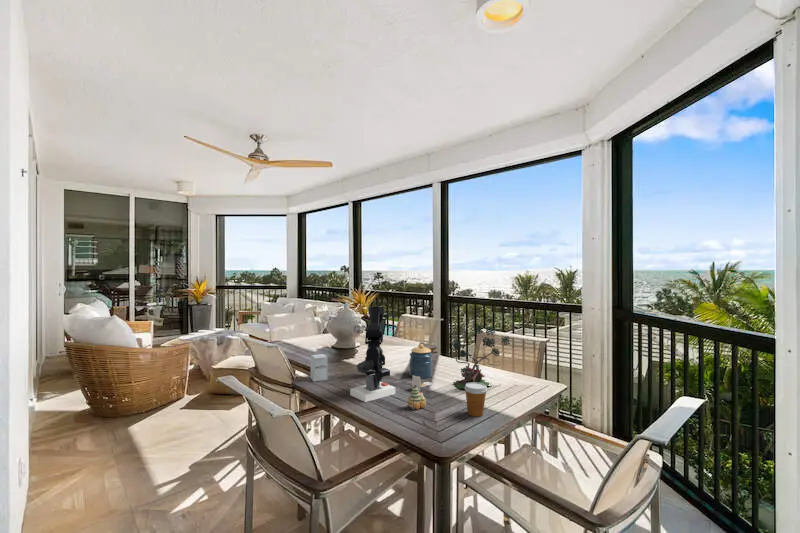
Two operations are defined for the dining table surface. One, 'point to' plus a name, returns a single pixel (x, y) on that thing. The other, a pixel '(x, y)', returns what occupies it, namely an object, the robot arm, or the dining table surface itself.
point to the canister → (421, 362)
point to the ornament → (416, 399)
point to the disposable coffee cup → (475, 398)
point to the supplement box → (318, 367)
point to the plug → (371, 383)
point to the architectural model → (417, 383)
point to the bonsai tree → (473, 374)
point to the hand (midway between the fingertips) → (373, 387)
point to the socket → (372, 392)
